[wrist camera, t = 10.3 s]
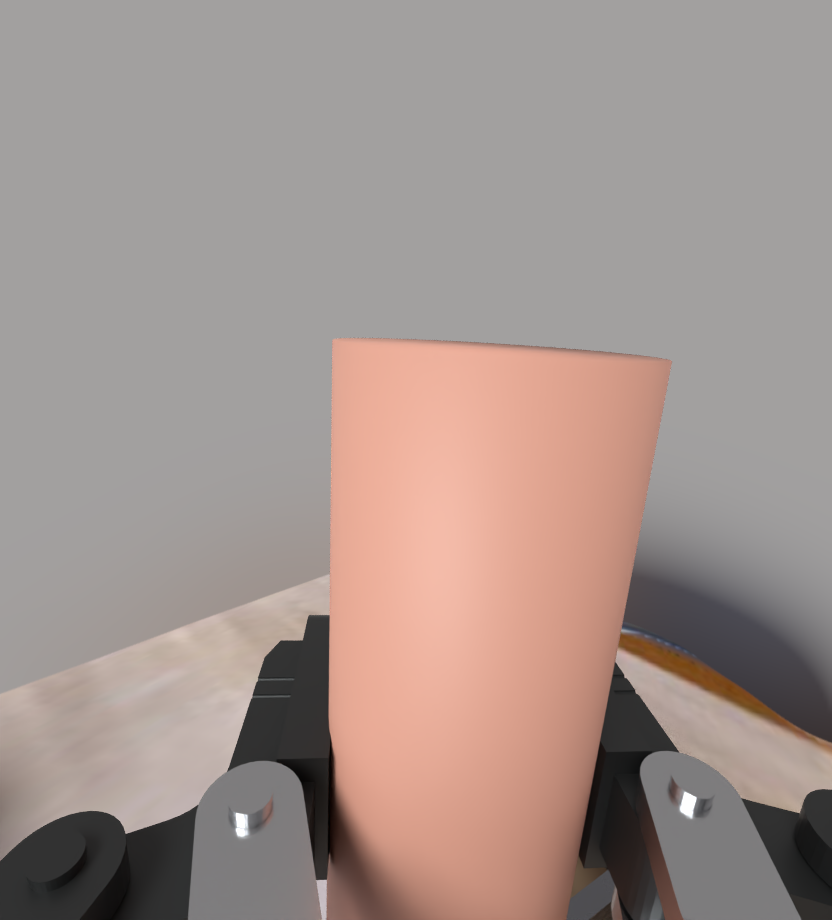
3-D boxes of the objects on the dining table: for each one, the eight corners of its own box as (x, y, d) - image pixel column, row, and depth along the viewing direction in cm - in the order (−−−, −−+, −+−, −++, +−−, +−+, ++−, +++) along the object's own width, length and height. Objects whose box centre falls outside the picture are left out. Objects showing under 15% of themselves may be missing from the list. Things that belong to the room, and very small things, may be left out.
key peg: (445, 963, 13) (510, 343, 9) (559, 1184, 10) (747, 364, 6) (297, 1071, 11) (289, 333, 7) (377, 1394, 8) (455, 360, 4)
